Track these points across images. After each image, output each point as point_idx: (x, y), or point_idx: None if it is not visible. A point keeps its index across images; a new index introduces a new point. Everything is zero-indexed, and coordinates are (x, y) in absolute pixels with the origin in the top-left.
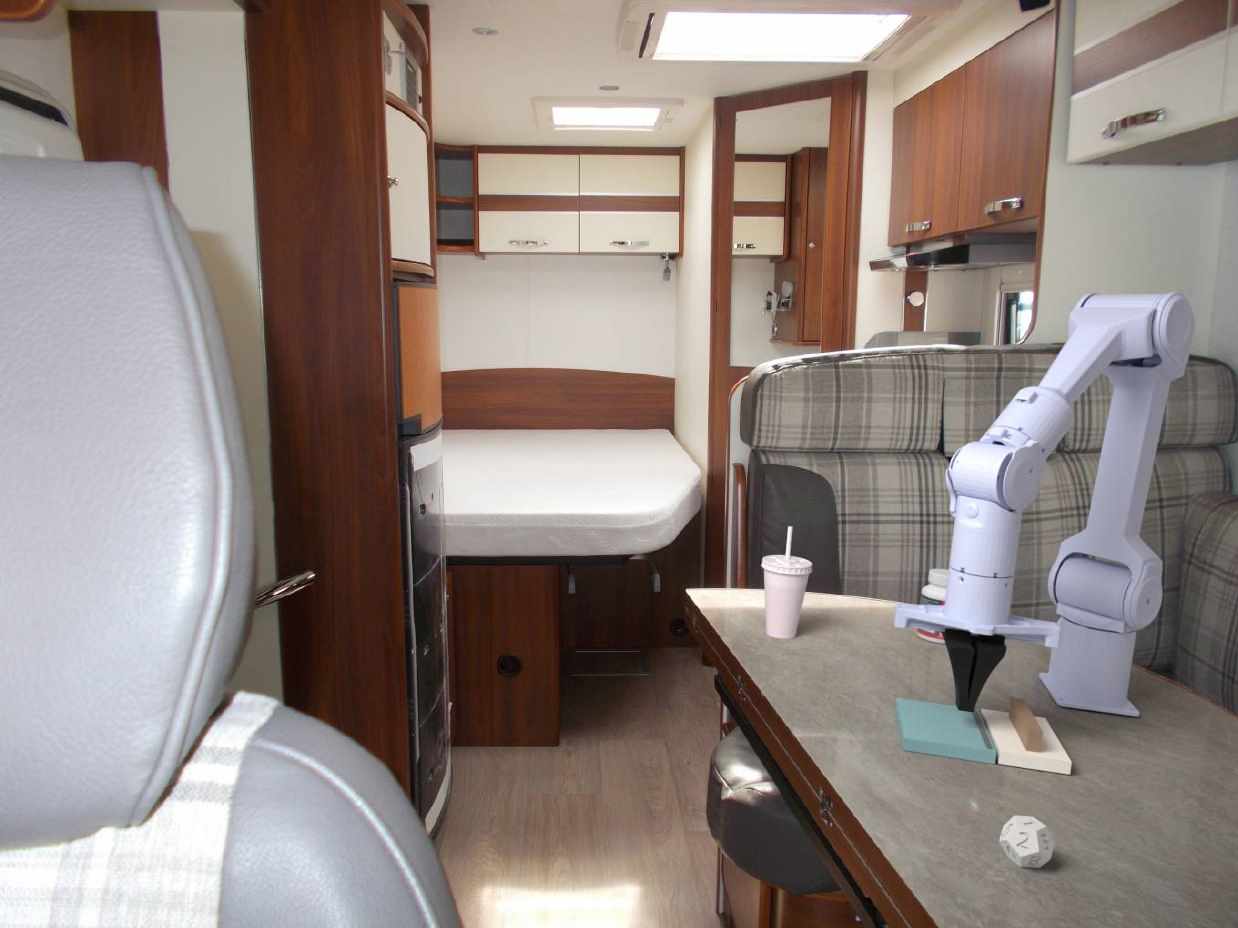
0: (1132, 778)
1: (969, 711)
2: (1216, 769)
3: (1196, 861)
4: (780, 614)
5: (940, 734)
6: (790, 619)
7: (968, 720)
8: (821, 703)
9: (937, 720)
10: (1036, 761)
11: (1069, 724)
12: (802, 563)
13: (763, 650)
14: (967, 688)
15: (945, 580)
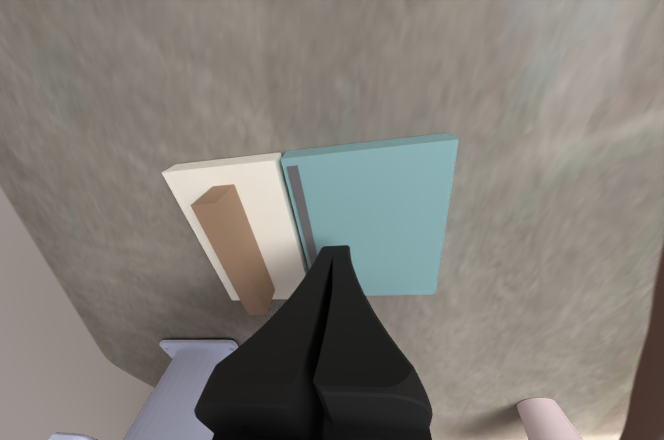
0: (109, 196)
1: (328, 246)
2: (55, 261)
3: None
4: (569, 437)
5: (379, 189)
6: (548, 429)
7: None
8: (556, 260)
9: (378, 242)
10: (217, 163)
11: (216, 308)
12: None
13: (582, 372)
14: (334, 275)
15: None
